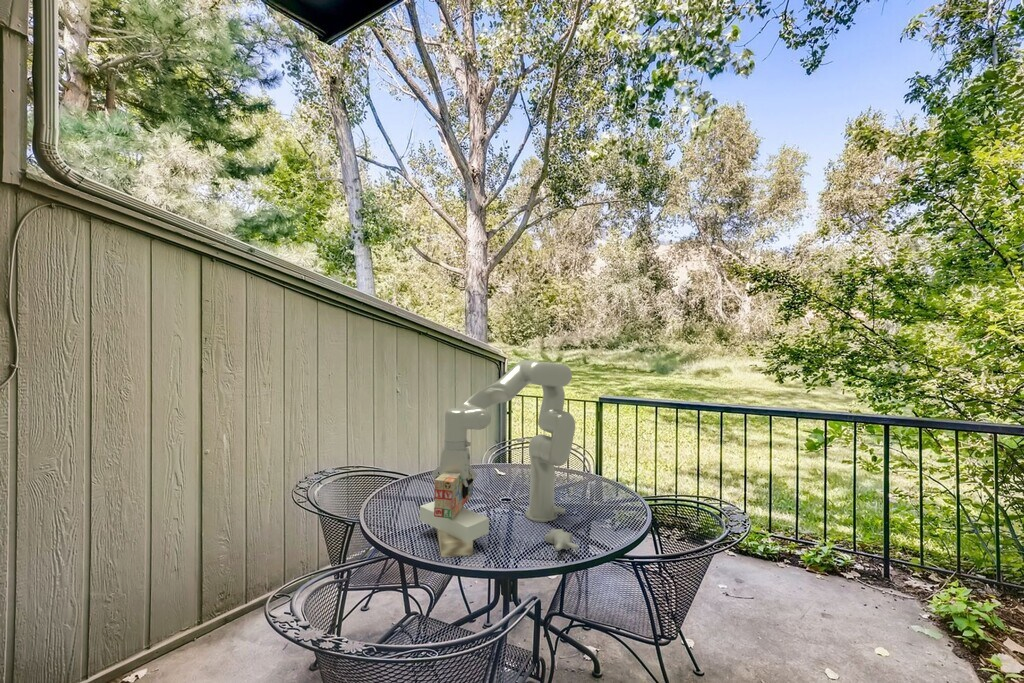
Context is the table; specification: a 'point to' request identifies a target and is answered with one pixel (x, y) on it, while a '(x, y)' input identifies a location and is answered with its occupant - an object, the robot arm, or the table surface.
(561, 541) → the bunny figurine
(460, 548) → the lower slab
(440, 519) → the upper slab
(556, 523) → the table surface
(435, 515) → the stack of blocks
